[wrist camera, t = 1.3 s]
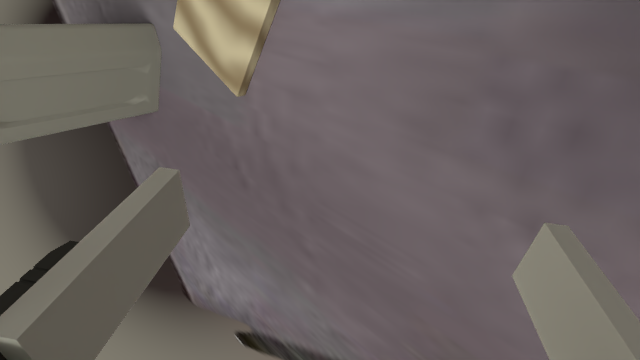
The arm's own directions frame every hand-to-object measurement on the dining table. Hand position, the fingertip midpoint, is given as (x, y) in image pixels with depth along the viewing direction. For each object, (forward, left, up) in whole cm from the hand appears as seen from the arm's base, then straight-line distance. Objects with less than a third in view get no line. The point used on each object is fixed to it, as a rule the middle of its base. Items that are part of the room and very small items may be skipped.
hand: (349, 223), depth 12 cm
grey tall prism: (+37, -50, -24) cm, 67 cm away
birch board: (+11, -33, -23) cm, 42 cm away
